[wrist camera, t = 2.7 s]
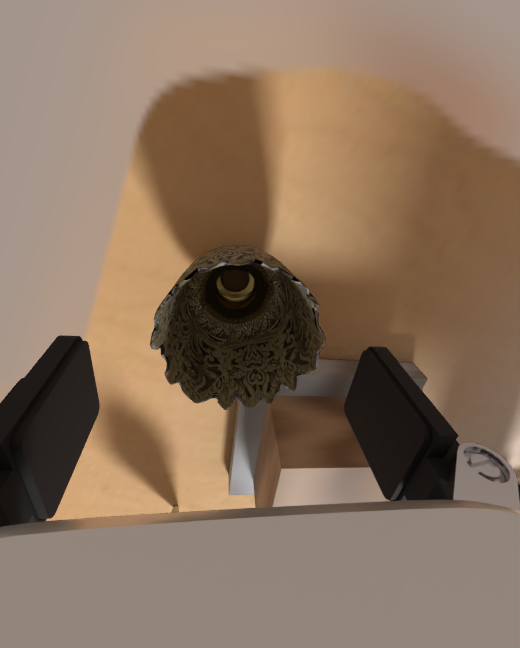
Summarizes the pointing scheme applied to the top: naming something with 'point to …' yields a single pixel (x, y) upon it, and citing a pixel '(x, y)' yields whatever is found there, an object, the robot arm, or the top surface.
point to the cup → (237, 329)
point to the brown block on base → (304, 443)
